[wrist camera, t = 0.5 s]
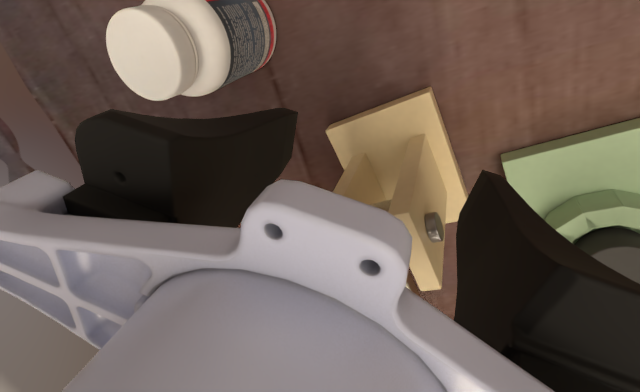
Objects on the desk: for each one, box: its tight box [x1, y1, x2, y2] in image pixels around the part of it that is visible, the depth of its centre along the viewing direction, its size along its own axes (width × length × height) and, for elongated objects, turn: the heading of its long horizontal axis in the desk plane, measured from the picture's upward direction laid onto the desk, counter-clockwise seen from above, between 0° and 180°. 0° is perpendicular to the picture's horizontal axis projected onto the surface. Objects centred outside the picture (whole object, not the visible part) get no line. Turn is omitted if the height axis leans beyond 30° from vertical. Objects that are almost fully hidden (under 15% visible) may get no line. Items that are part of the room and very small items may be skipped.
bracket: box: [326, 87, 468, 291], centre depth 20 cm, size 9×7×10 cm
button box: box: [500, 118, 640, 244], centre depth 21 cm, size 10×8×3 cm
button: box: [574, 227, 640, 284], centre depth 19 cm, size 4×4×2 cm
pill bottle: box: [106, 0, 276, 101], centre depth 19 cm, size 5×5×9 cm
